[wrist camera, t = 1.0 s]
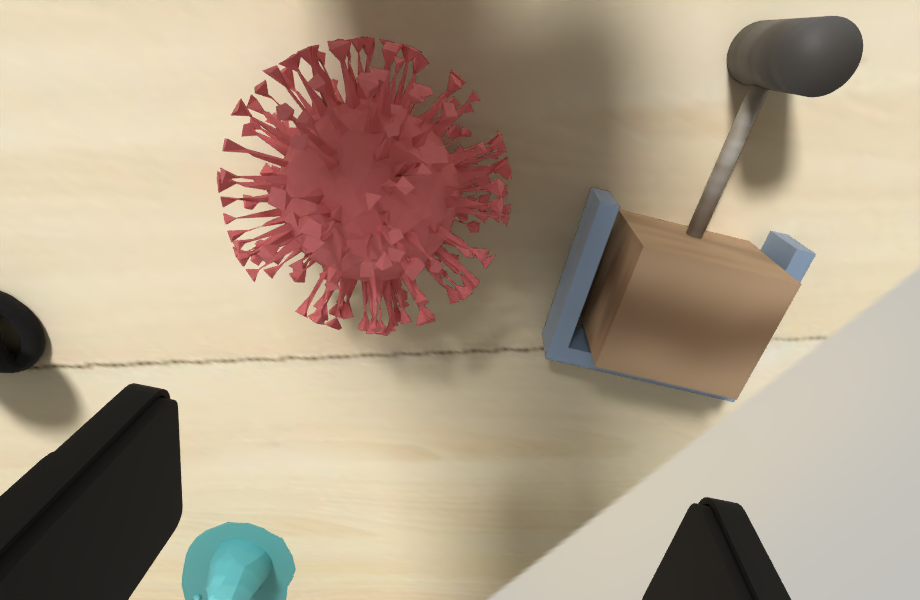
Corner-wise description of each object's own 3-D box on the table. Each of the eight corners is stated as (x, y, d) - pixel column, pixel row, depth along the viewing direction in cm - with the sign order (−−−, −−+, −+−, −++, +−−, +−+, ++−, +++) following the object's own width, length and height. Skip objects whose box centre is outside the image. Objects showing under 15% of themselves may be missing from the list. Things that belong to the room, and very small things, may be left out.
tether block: (699, 342, 39) (736, 399, 33) (580, 314, 39) (595, 366, 33) (847, 40, 31) (937, 41, 24) (694, 1, 30) (745, -8, 24)
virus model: (423, -17, 31) (364, -61, 17) (549, 201, 36) (578, 298, 22) (236, 126, 35) (71, 179, 22) (371, 303, 40) (306, 437, 26)
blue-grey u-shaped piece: (715, 373, 40) (733, 402, 37) (542, 333, 40) (545, 358, 37) (787, 235, 36) (816, 254, 32) (591, 187, 35) (600, 201, 32)
